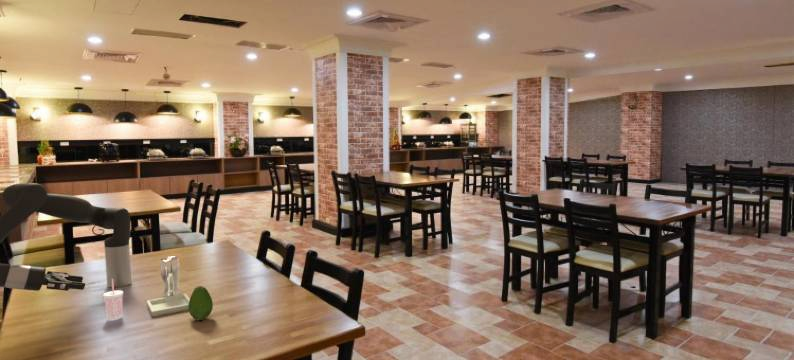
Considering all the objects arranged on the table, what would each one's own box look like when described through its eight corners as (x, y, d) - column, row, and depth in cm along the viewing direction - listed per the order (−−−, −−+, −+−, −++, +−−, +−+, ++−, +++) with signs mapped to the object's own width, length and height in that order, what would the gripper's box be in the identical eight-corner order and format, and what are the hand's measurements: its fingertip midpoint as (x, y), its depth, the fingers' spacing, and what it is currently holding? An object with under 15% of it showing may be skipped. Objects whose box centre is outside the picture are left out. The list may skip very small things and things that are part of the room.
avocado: (198, 325, 167) (197, 290, 166) (184, 320, 171) (182, 287, 170) (218, 317, 174) (216, 284, 173) (204, 313, 178) (202, 281, 177)
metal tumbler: (173, 298, 194) (171, 261, 193) (158, 297, 196) (155, 260, 194) (184, 292, 201) (182, 256, 200) (169, 291, 203) (167, 255, 201)
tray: (146, 305, 186) (146, 300, 186) (186, 298, 194) (185, 293, 194) (152, 317, 175) (151, 311, 175) (193, 309, 183) (193, 303, 182)
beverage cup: (104, 322, 170) (101, 282, 169) (105, 316, 176) (102, 278, 174) (124, 319, 173) (122, 280, 172) (124, 313, 179) (122, 275, 177)
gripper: (28, 271, 152) (88, 277, 161) (28, 261, 163) (84, 267, 173) (21, 295, 151) (82, 299, 161) (21, 283, 162) (78, 288, 172)
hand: (83, 283), depth 167 cm, fingers open, 8 cm apart
